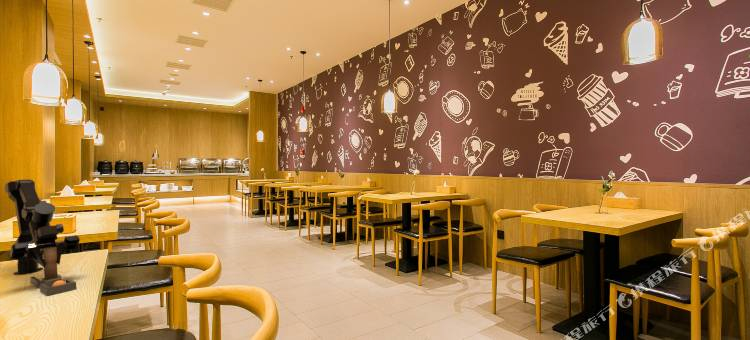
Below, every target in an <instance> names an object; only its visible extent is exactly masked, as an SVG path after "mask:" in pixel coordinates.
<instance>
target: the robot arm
mask: <svg viewBox="0 0 750 340" xmlns="http://www.w3.org/2000/svg"><path fill="white" fill-rule="evenodd" d="M4 190H5V193H7V197H8V199H9V200H11V201H12V202H13V204H14V207H15V214H16V221H17V227H18V233H19V236H18V237H17V238H16V240H15V243H13V244H12V245H10V246H11V247H10V251H9V257H10V259H11V260H15V261H16V260H17V264H16V265H17V271H16V272H13V275H21V274H23V275H24V274H33V273H36V272H38V271H40V270H42V269H43V270H44V267H45V266H46V265H45V261H44V258H43V256H42V255H43V249H44V248H48V247H57V266H58V265H60V264H61V263H60V262H61V257H62V254H64V253H65V252H66V251H72V250H76V249H78V247H79V243H80V241H81V239H80V237H79V236H78V235H68V236H65V237H64V239H63V240H60V241H58V235H59V234H63V232H64V231H65V228H64V225H63V223H56V224H55V225H54V224H53V225H51V222H52V221H53V217H54V215H55V210H56V206H55V205H53V204H52V203H50V202H47V201H46V200H41V199H40V198H39V195H38V193H37V191H36V183H35V181H34V179H31V178H29V179H18V180H12V181H11V180H10V181H8V182H7V183H5V186H4ZM56 240H57V241H56ZM39 265H40V267H39ZM41 266H42V267H41Z"/></svg>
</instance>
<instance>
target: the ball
mask: <svg viewBox="0 0 750 340" xmlns="http://www.w3.org/2000/svg"><path fill="white" fill-rule="evenodd" d="M62 284H66V281H64V280H63V279H62V280H59V281H56V282H55V283H54V284H53V285H52V287H53V286H57V285H62Z"/></svg>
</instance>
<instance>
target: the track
mask: <svg viewBox="0 0 750 340" xmlns="http://www.w3.org/2000/svg"><path fill="white" fill-rule="evenodd" d="M57 276H59V277H60V278H62V275H60V274H58V273H57ZM29 278H30V279H29V280H30V281H29V283H30V284H31V285H32V286H34V287H36V288H40V284H41V279H39V278H37V277H36V276H34V275H33V276H30V277H29ZM62 279H63V278H62Z"/></svg>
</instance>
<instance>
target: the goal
mask: <svg viewBox="0 0 750 340" xmlns="http://www.w3.org/2000/svg"><path fill="white" fill-rule="evenodd" d="M65 283H66V284H62V285H57V286H53V287H48V286H47V285H45V284H40V287H39V290H40V291H39V292H40V293H42V294H43V295H44V296H46V297H48V296H49V297H50V296H53V295H57V294H61V293H65V292H71V291H74V290H77V282H76V281H75V280H73V279H71V278H70V277H69V278H68V277H67V278H65Z"/></svg>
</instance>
